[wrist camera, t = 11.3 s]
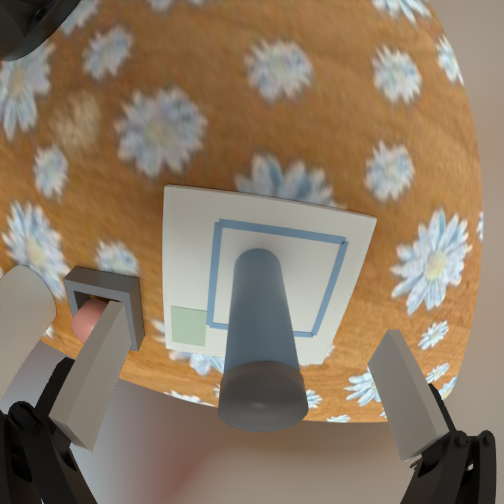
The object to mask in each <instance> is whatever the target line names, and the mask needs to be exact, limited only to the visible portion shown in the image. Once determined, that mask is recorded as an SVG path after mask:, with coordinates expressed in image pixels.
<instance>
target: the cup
mask: <svg viewBox="0 0 504 504" xmlns="http://www.w3.org/2000/svg"><path fill="white" fill-rule="evenodd" d="M55 317H56V305H55V301H54V298H53V296H52V294H51V292H50V290H49V288H48V287H47V285H46V284H45V283H44V281H43V280H42V279H41V278H40V277H39V276H38V275H37V274H36V273H35V272H34V271H33V270H31V269H30V268H28V267H26V266H23V265H17V266H15V267H13V268H12V269H11V270H10V271H9V272H7V273H6V274H5V275H4V276H3V277H2V278H1V279H0V400H1V398H2V396H3V394H4V393H5V391H6V389H7V388H8V386H9V384H10V382H11V381H12V379H13V378H14V376H15V375H16V373H17V371H18V370H19V369H20V367H21V365H22V364H23V362H24V361H25V359H26V358H27V357H28V355H29V354H30V352H31V351H32V349H33V348H34V346H35V345H36V344H37V342H38V341H39V339H40V338H41V337H42V335H43V334H44V333H45V331H46V330H47V329H48V327H49V326H50V325H51V323H52V322H53V321H54V319H55Z"/></svg>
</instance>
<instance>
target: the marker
mask: <svg viewBox="0 0 504 504" xmlns="http://www.w3.org/2000/svg"><path fill="white" fill-rule="evenodd" d="M307 413H308V402H307V396H306V390H305V384H304V379H303V376H302V374H301V373H300V368H299V362H298V356H297V351H296V345H295V339H294V334H293V328H292V323H291V317H290V312H289V307H288V301H287V296H286V291H285V286H284V281H283V276H282V271H281V266H280V262H279V260H278V258H277V257H276V256H275V255H274V254H273V253H272V252H270V251H268V250H265V249H259V248H256V249H250V250H248V251H246V252H244V253H242V254H241V255H240V256H239V257H238V259H237V260H236V262H235V266H234V275H233V284H232V294H231V303H230V313H229V323H228V333H227V343H226V353H225V364H224V375H223V378H222V380H221V384H220V394H219V405H218V415H219V417H220V418H221V419H222V420H223V422H225V423H226V424H228V425H229V426H232V427H234V428H237V429H240V430H244V431H251V432H271V431H277V430H281V429H285V428H288V427H290V426H293V425H295V424H297V423H298V422H300V421H301V420H302V419H303V418H304V417H305V416H306V415H307Z"/></svg>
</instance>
